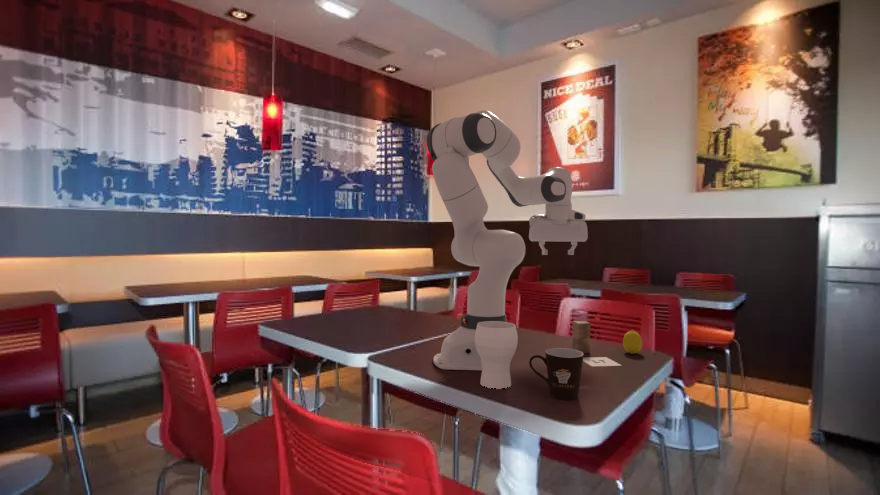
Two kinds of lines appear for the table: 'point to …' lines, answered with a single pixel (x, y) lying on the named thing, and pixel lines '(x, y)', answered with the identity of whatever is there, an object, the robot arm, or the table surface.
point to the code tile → (600, 361)
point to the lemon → (632, 342)
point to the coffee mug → (562, 372)
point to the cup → (496, 352)
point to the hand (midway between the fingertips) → (557, 254)
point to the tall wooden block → (581, 336)
